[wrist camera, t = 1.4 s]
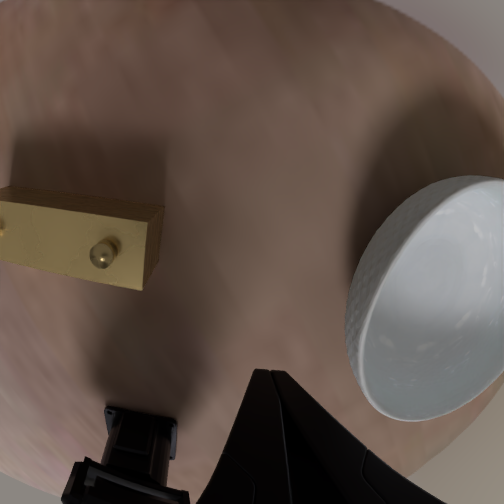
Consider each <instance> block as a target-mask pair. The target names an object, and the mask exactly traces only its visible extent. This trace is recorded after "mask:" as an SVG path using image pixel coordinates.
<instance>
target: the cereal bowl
mask: <svg viewBox="0 0 504 504" xmlns="http://www.w3.org/2000/svg"><path fill="white" fill-rule="evenodd" d="M345 336H346V339H345V340H346V341H345V343H346V346H347V354H348V356H349V360H350V365H351V367H352V370H353V374H354V376H355V377H356V379H357V382H358V384H359V386H360V388H361V390H362V392H363V393H364V395H365V397H366V398H367V400H368V401H369V402H370V404H371V405H372V406H373V407H374V408H375V409H376V410H378V411H379V412H380V413H382V414H384V415H386V416H388V417H390V418H393V419H396V420H401V421H423V420H429V419H433V418H436V417H440V416H443V415H445V414H448V413H450V412H452V411H454V410H456V409H458V408H460V407H461V406H463V405H465V404H466V403H468V402H469V401H471V400H473V399H474V398H475V397H477V396H478V395H479V394H480V393H482V392H483V391H484V390H485V389H486V388H487V387H488V386H490V385H491V384H492V383H493V382H494V381H495V380H496V379H497V378H498V376H499V375H500V374H501V373H502V372H503V371H504V180H503V179H500V178H493V177H489V176H480V175H478V176H473V175H468V176H458V177H450V178H448V179H445V180H439V181H438V182H436V183H431V184H430V185H428V186H427V187H424V188H422V189H420V190H419V191H418V192H417V193H415V194H413V195H411V196H410V197H409V198H407V199H406V200H405V201H404V202H403V203H402V204H401V205H399V206H398V207H397V208H396V209H395V210H394V211H393V212H392V214H391V215H389V216H388V217H387V218H386V220H385V221H384V222H383V224H382V225H381V227H380V228H379V229H377V231H376V233H375V234H374V236H373V237H372V239H371V241H370V242H369V243H368V246H367V248H366V249H365V251H364V253H363V255H362V257H361V258H360V261H359V264H358V266H357V269H356V272H355V273H354V275H353V280H352V283H351V286H350V290H349V294H348V299H347V305H346V314H345Z"/></svg>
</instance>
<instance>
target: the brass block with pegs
mask: <svg viewBox="0 0 504 504" xmlns="http://www.w3.org/2000/svg"><path fill="white" fill-rule="evenodd" d="M164 208H165V206H159V205H152V204H145V203H139V202H132V201H125V200H118V199H110V198H103V197H96V196H88V195H80V194H73V193H65V192H56V191H48V190H40V189H31V188H22V187H13V186H8V187H4V188H0V260H3V261H7V262H11V263H15V264H19V265H23V266H27V267H31V268H35V269H40V270H44V271H48V272H53V273H57V274H62V275H66V276H71V277H75V278H80V279H85V280H89V281H94V282H99V283H104V284H109V285H114V286H119V287H125V288H130V289H135V290H141V291H142V290H143V288H144V286H145V284H146V283H147V281H148V279H149V277H150V275H151V274H152V272H153V270H154V268H155V267H156V265H157V263H158V260H159V250H160V241H161V232H162V224H163V216H164Z"/></svg>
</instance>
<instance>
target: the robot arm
mask: <svg viewBox="0 0 504 504" xmlns="http://www.w3.org/2000/svg"><path fill="white" fill-rule="evenodd" d="M104 414H105V419H106V425H107V430H108V435H109V437H108V440H107V443H106V446H105V450H104V453H103V456H102V460H101V463H97V462H95V461H93V460H91V459H90V458H88V457H86V456H85V459H84V461H83V462H82V461H81V462H75V463H74V466H73V469H72V472H71V474H70V477H69V480H68V482H67V484H66V487H65V489H64V492H63V494H62V497H61V501H62V503H63V504H190V498H189V492H188V491H184V490H177V489H173V488H169V487H166V486H167V476H168V467H169V460H174V459H175V453H176V434H177V421H176V420H175V419H172V418H166V417H160V416H154V415H149V414H144V413H139V412H134V411H129V410H125V409H120V408H116V407H112V406H106V407H105V410H104ZM196 504H446V503H444V502H443V501H441V500H439V499H438V498H436V497H434V496H433V495H431V494H430V493H428V492H426V491H425V490H423V489H422V488H420V487H418V486H417V485H415V484H414V483H412V482H411V481H409V480H408V479H406V478H405V477H403V476H402V475H401V474H399V473H398V472H396V471H395V470H394V469H392V468H391V467H390V466H389V465H387V464H386V463H385V462H384V461H382V460H381V459H380V458H379V457H378V456H376V455H375V454H374V453H373V452H372V451H371V450H369V449H368V450H367V447H366V446H365V445H364V444H363V443H361V442H360V441H359V440H358V439H357V438H356V437H355V436H354V435H352V434H351V433H350V432H349V431H348V430H347V429H346V428H345V427H344V426H343V425H341V424H340V423H339V422H338V421H337V420H336V419H335V418H334V417H333V416H332V415H331V414H330V413H329V412H327V411H326V410H325V409H324V408H323V407H322V406H321V405H320V404H319V403H318V402H317V401H316V400H315V399H314V398H313V397H312V396H311V395H310V394H308V393H307V392H306V391H305V390H304V389H303V388H302V387H301V386H300V385H299V384H298V383H297V382H296V381H295V380H294V379H293V378H292V377H291V376H290V375H289V374H288V373H287V372H286V371H280V370H271V371H269V370H267V369H254V371H253V373H252V376H251V379H250V382H249V384H248V387H247V390H246V392H245V395H244V398H243V400H242V403H241V406H240V408H239V411H238V414H237V416H236V419H235V421H234V424H233V427H232V429H231V432H230V434H229V437H228V439H227V442H226V444H225V447H224V449H223V452H222V454H221V456H220V459H219V461H218V464H217V466H216V468H215V471H214V473H213V475H212V477H211V479H210V481H209V483H208V485H207V486H206V488H205V490H204V491H203V493H202V495H201V496H200V498H199V499H198V501H197V502H196Z"/></svg>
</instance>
